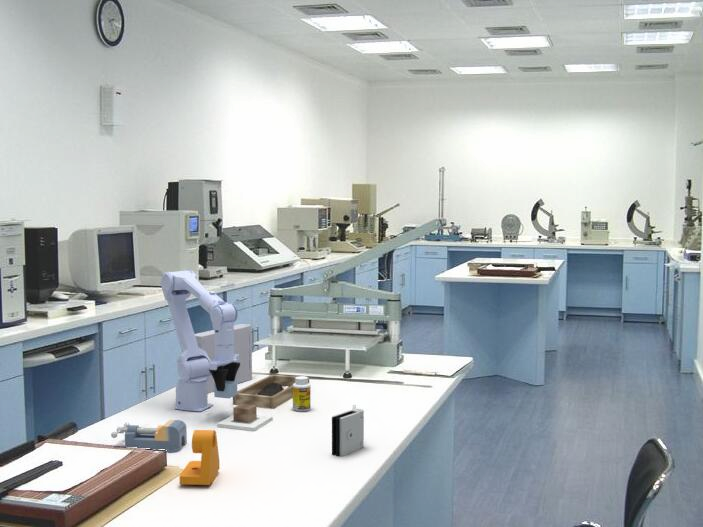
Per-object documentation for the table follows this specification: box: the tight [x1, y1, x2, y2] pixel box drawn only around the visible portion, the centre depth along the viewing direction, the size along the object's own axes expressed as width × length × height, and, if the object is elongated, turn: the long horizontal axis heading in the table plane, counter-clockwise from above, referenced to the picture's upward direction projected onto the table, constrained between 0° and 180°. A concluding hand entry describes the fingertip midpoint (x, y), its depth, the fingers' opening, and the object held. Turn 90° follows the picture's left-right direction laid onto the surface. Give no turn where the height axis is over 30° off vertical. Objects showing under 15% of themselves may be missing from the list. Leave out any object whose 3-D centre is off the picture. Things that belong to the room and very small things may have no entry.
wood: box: [256, 383, 284, 396], centre depth 270 cm, size 22×8×3 cm, turn 170°
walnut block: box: [232, 404, 258, 423], centre depth 237 cm, size 5×5×4 cm
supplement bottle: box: [292, 375, 311, 412], centre depth 252 cm, size 6×6×10 cm
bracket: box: [179, 429, 221, 486], centre depth 191 cm, size 11×7×12 cm, turn 177°
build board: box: [216, 414, 274, 432], centre depth 237 cm, size 12×12×1 cm
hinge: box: [331, 404, 365, 457], centre depth 214 cm, size 14×5×10 cm, turn 153°
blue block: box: [213, 381, 238, 399], centre depth 242 cm, size 5×5×4 cm
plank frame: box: [232, 374, 310, 409], centre depth 269 cm, size 14×28×4 cm, turn 159°
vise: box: [110, 419, 188, 454], centre depth 216 cm, size 18×10×7 cm, turn 84°
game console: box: [194, 323, 253, 394], centre depth 282 cm, size 6×27×20 cm, turn 148°
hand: (225, 388), depth 242 cm, fingers closed on blue block, 5 cm apart
